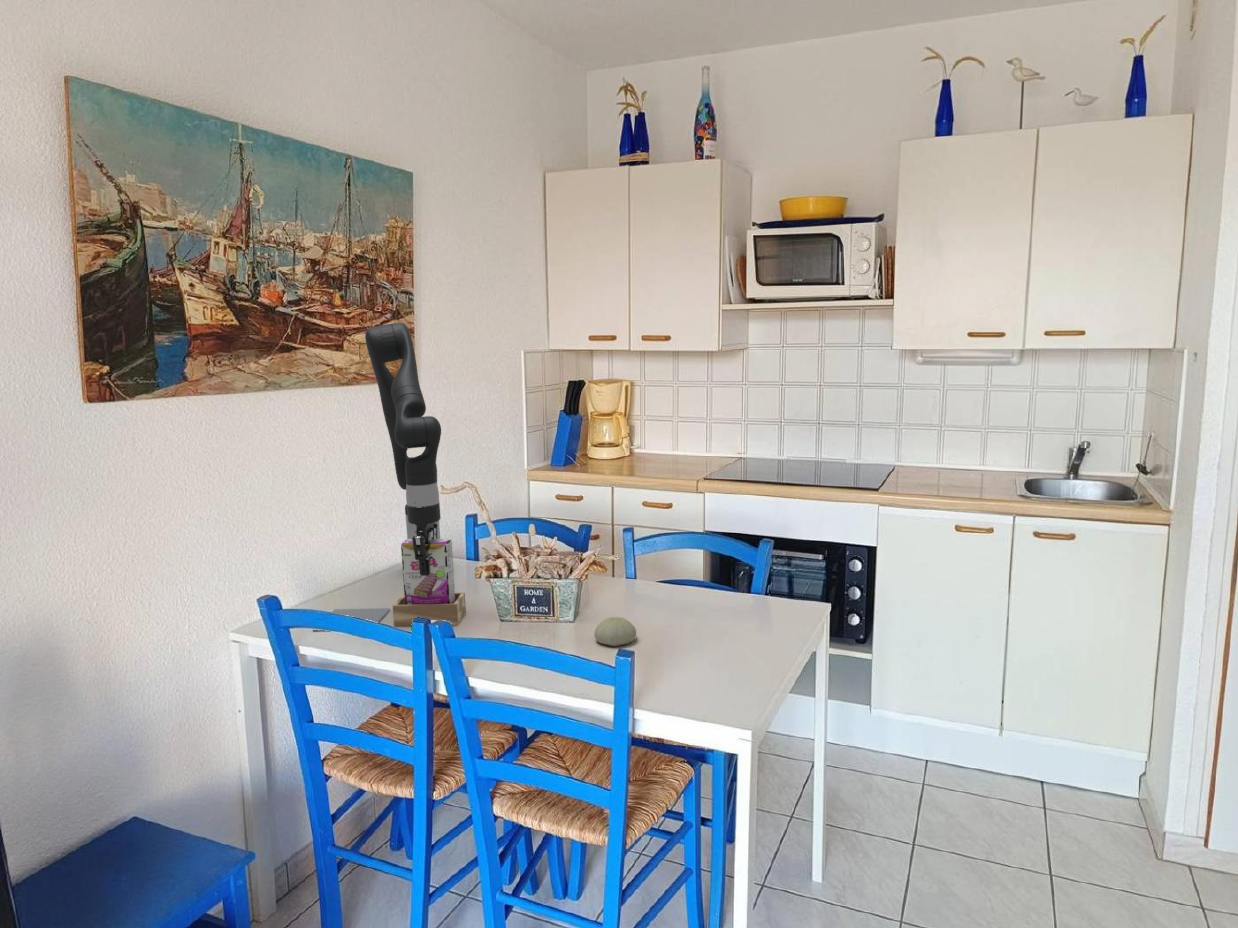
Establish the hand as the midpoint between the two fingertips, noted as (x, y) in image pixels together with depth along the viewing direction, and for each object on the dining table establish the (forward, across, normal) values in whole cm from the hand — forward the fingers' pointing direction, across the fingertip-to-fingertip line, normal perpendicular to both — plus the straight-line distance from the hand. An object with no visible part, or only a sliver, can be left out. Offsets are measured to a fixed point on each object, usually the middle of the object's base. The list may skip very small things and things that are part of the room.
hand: (428, 571), depth 204 cm
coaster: (+12, 0, -19) cm, 22 cm away
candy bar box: (+9, 0, 0) cm, 9 cm away
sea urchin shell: (+12, +17, +45) cm, 49 cm away
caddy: (+12, 0, 0) cm, 12 cm away
